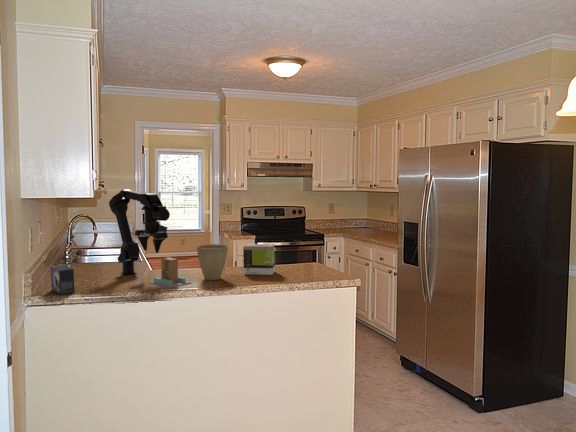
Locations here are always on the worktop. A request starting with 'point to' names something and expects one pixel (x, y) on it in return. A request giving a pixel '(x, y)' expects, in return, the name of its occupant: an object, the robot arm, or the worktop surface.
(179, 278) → the rack
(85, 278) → the worktop surface
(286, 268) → the worktop surface
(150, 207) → the robot arm
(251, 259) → the tea box
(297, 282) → the worktop surface
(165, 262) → the brown upright block
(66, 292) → the small box
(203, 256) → the plant pot
